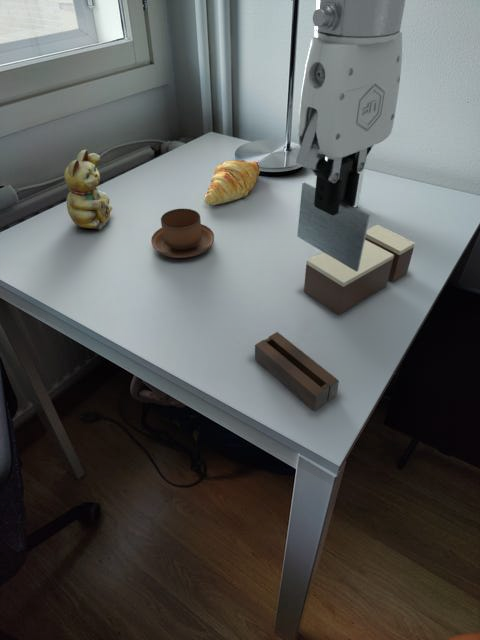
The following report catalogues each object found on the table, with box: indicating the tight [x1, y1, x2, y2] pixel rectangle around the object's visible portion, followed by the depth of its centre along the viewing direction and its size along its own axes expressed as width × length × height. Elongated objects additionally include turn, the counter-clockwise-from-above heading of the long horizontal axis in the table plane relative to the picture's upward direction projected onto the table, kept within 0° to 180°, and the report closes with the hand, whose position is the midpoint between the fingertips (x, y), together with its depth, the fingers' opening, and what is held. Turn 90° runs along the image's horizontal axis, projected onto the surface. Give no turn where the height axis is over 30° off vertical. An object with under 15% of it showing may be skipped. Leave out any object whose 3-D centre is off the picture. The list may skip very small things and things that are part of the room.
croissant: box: [204, 159, 261, 206], centre depth 105 cm, size 21×10×8 cm, turn 148°
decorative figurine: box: [63, 149, 113, 231], centre depth 92 cm, size 10×8×15 cm
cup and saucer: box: [150, 208, 215, 259], centre depth 88 cm, size 12×12×6 cm
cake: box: [303, 240, 394, 316], centre depth 77 cm, size 8×12×6 cm, turn 128°
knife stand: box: [254, 331, 340, 412], centre depth 63 cm, size 12×4×3 cm, turn 38°
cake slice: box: [365, 224, 416, 283], centre depth 81 cm, size 8×4×6 cm, turn 38°
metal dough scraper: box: [296, 157, 371, 272], centre depth 53 cm, size 10×2×12 cm, turn 39°
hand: (334, 205), depth 53 cm, fingers closed on metal dough scraper, 2 cm apart
